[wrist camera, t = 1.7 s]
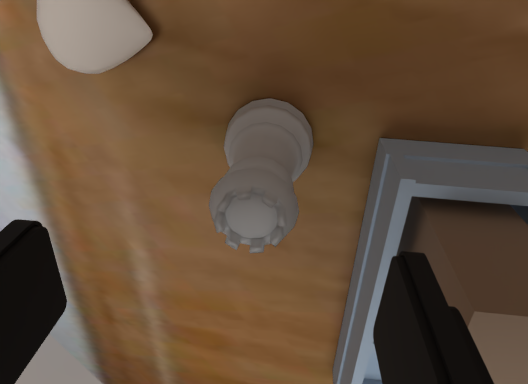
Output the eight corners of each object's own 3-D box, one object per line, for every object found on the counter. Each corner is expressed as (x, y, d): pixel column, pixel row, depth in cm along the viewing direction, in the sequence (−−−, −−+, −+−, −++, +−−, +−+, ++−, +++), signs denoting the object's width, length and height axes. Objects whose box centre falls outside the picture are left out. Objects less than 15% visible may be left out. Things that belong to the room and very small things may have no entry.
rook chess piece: (268, 191, 22) (249, 293, 15) (209, 134, 21) (159, 217, 14) (331, 141, 20) (343, 230, 13) (271, 76, 19) (250, 136, 12)
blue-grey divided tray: (523, 149, 19) (701, 293, 11) (431, 382, 28) (486, 565, 19) (379, 137, 20) (435, 266, 11) (332, 370, 29) (343, 545, 20)
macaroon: (52, -38, 18) (15, -40, 15) (162, -20, 17) (141, -20, 15) (63, 61, 20) (32, 72, 17) (161, 77, 20) (143, 90, 17)
